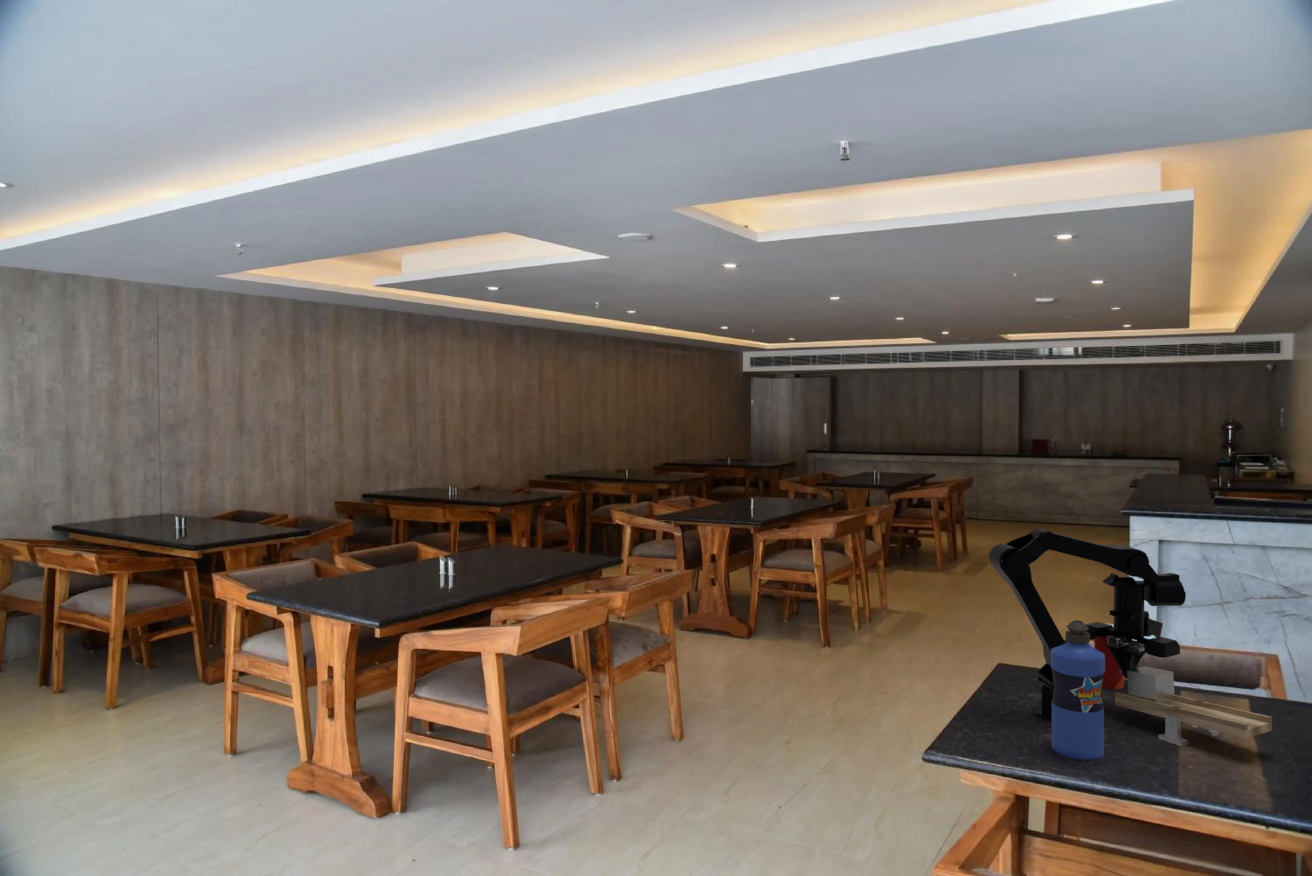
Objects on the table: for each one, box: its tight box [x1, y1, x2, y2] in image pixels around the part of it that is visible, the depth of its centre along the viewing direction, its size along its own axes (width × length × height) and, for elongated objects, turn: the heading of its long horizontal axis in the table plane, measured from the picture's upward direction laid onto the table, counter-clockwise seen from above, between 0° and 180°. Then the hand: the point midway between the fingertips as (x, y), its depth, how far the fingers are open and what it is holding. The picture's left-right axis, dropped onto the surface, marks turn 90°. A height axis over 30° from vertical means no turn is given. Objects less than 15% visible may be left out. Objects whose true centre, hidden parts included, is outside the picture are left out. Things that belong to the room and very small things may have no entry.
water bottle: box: [1051, 619, 1105, 761], centre depth 166 cm, size 9×9×25 cm
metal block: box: [1127, 665, 1176, 704], centre depth 179 cm, size 6×6×6 cm
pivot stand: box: [1157, 714, 1221, 747], centre depth 172 cm, size 13×4×5 cm, turn 117°
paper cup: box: [1093, 622, 1125, 690], centre depth 204 cm, size 8×8×14 cm
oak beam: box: [1114, 692, 1273, 739], centre depth 172 cm, size 8×26×4 cm, turn 27°
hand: (1128, 679), depth 183 cm, fingers closed
